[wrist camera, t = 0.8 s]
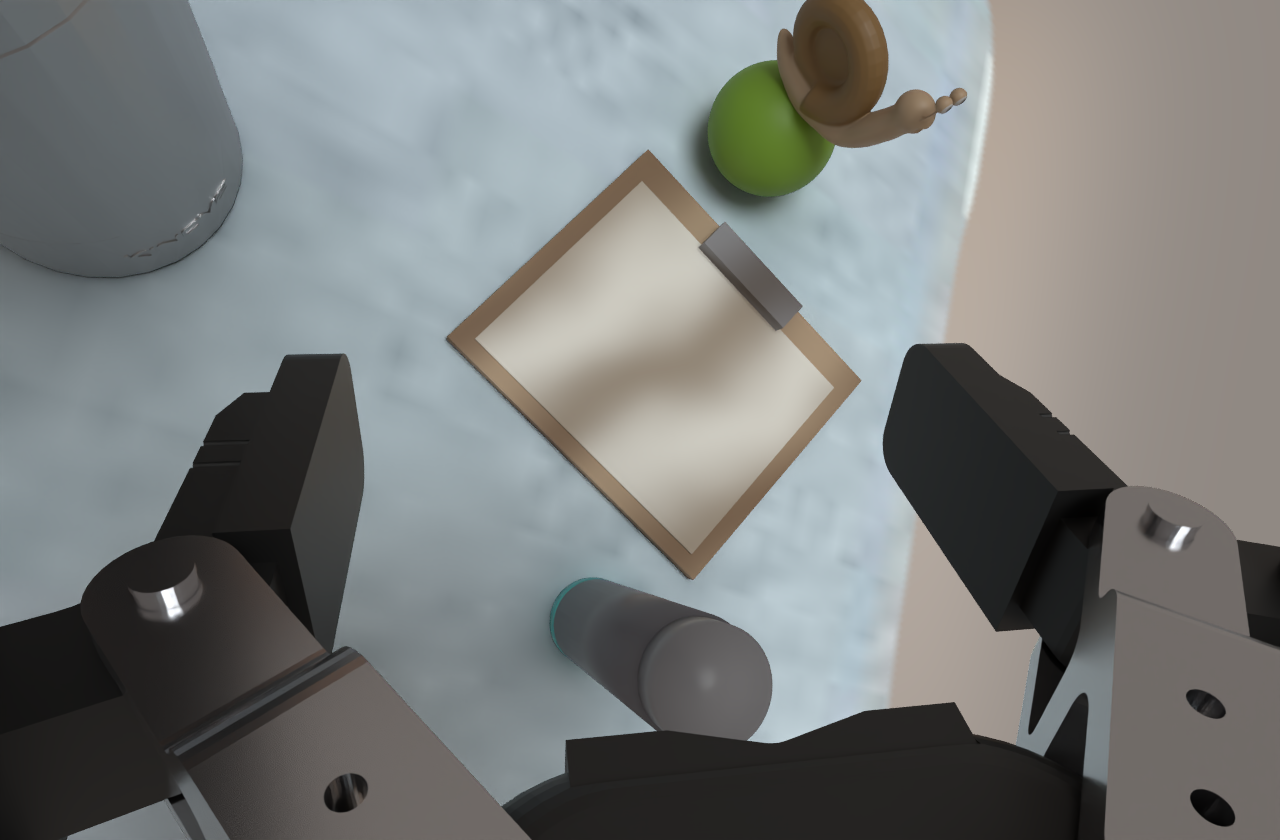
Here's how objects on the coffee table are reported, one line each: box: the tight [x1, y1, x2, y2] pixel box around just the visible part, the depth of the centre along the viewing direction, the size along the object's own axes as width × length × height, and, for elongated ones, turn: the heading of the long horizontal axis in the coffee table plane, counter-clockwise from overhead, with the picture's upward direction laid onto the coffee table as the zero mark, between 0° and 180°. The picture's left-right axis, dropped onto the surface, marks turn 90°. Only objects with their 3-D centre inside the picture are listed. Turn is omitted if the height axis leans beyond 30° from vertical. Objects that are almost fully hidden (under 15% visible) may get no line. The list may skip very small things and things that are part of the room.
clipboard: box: [447, 150, 861, 580], centre depth 34 cm, size 14×12×1 cm
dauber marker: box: [550, 578, 772, 741], centre depth 27 cm, size 3×3×13 cm
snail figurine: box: [708, 0, 967, 197], centre depth 31 cm, size 5×6×12 cm
